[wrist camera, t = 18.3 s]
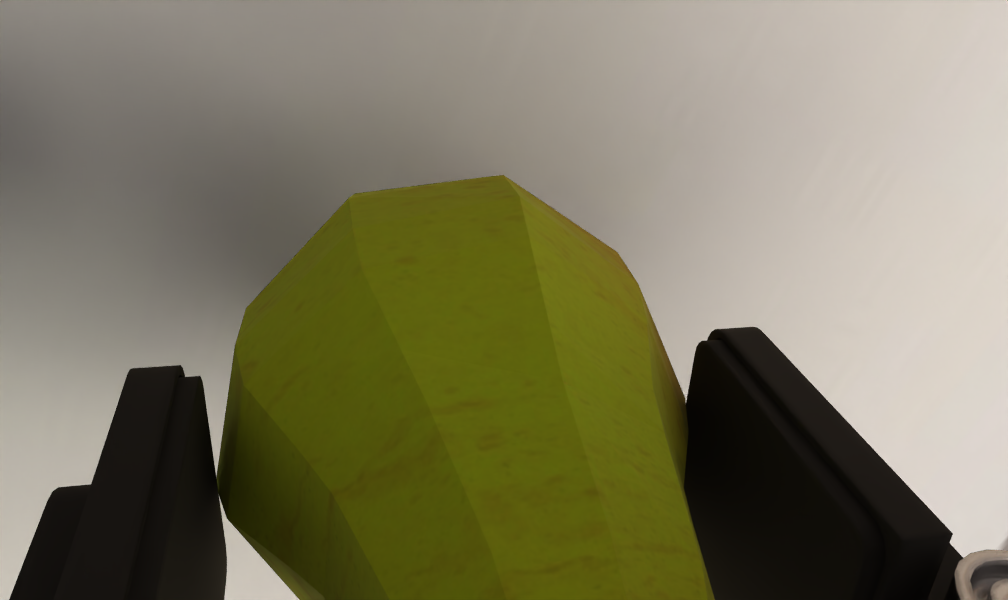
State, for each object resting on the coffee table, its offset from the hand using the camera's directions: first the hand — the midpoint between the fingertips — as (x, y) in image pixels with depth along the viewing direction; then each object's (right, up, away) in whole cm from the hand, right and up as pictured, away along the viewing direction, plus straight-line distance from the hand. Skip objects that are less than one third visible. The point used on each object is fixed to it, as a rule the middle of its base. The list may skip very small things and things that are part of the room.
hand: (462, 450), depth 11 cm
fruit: (-1, +2, +3) cm, 4 cm away
